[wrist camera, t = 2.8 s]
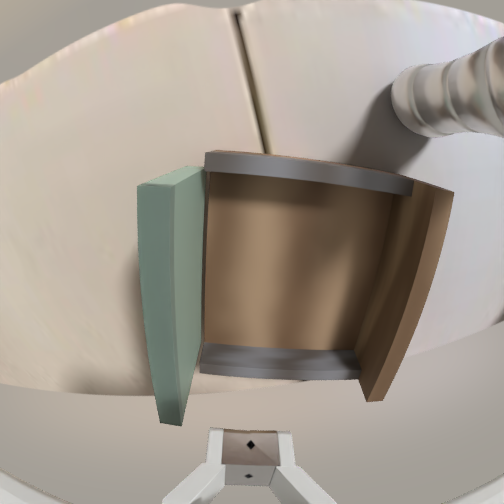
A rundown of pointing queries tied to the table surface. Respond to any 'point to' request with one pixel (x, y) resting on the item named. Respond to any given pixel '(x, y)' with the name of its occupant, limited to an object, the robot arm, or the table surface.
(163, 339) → the panel
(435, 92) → the plastic bottle
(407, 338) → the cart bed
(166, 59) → the table surface
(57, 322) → the table surface
